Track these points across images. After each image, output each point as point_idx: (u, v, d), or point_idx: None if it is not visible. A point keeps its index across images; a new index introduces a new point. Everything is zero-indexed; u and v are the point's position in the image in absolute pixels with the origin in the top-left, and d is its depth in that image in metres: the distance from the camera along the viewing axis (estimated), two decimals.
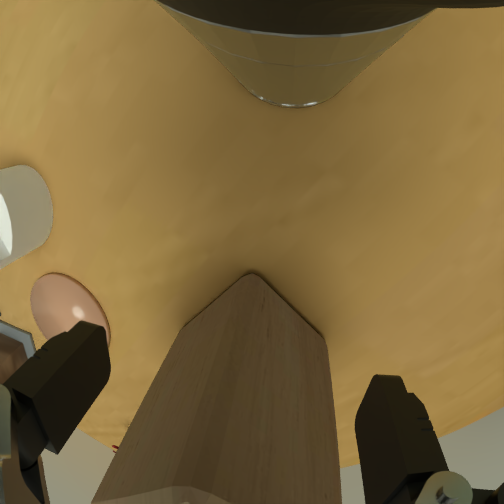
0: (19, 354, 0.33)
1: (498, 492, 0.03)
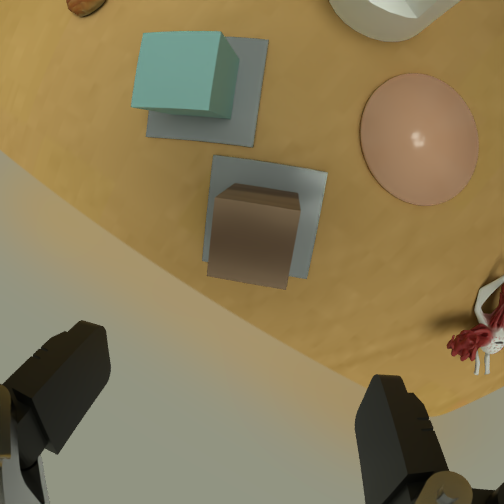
0: None
1: (498, 492, 0.03)
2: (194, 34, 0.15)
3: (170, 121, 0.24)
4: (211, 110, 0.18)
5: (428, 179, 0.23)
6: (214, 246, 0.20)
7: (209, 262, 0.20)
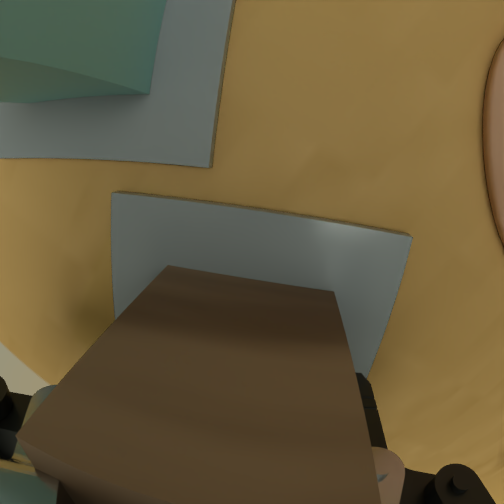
0: None
1: (436, 476, 0.04)
2: None
3: (28, 119, 0.09)
4: None
5: None
6: None
7: None
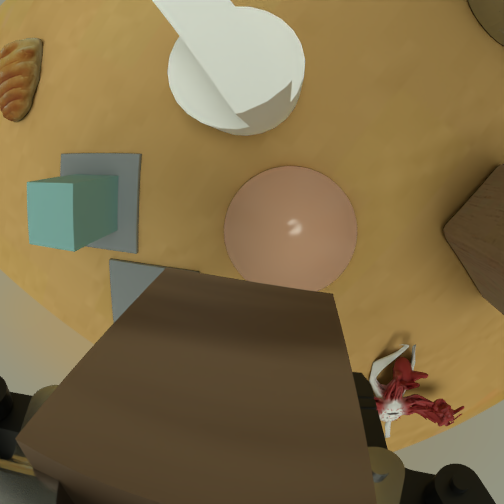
0: None
1: (436, 476, 0.04)
2: (56, 186, 0.20)
3: None
4: (79, 248, 0.22)
5: (296, 272, 0.27)
6: None
7: None
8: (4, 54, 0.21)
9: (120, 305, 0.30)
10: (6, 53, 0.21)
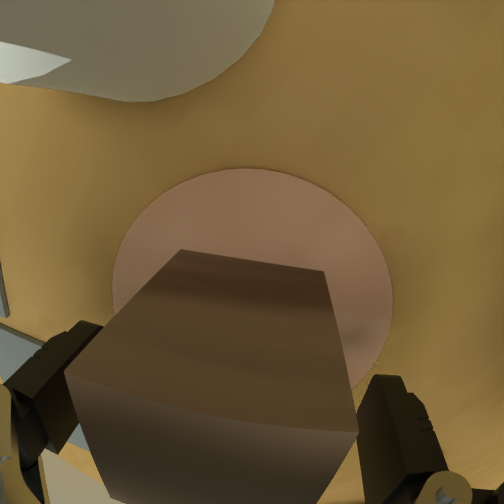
0: None
1: (498, 492, 0.03)
2: None
3: None
4: None
5: None
6: (106, 467, 0.06)
7: (107, 484, 0.06)
8: None
9: None
10: None
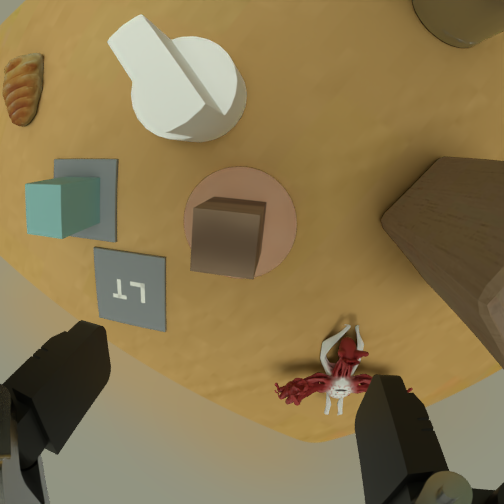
0: (264, 215, 0.29)
1: (498, 492, 0.03)
2: (48, 187, 0.25)
3: None
4: (66, 236, 0.27)
5: None
6: (195, 246, 0.25)
7: (191, 259, 0.25)
8: (10, 68, 0.26)
9: (103, 287, 0.35)
10: (12, 67, 0.26)
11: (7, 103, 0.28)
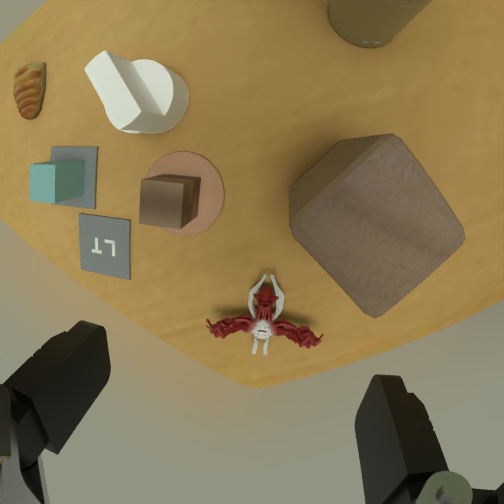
0: (197, 186, 0.39)
1: (498, 492, 0.03)
2: (46, 166, 0.34)
3: None
4: (57, 202, 0.36)
5: None
6: (142, 206, 0.34)
7: (140, 215, 0.35)
8: (19, 74, 0.34)
9: (84, 244, 0.45)
10: (21, 73, 0.34)
11: (17, 101, 0.36)
